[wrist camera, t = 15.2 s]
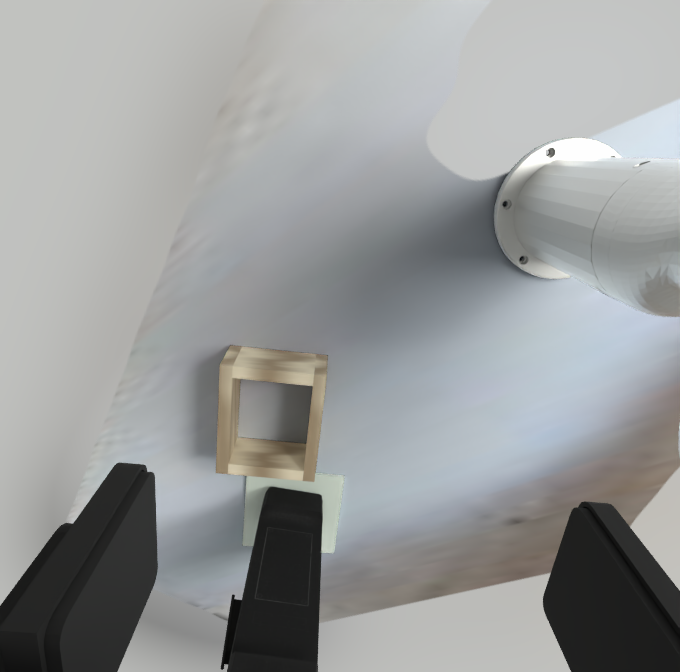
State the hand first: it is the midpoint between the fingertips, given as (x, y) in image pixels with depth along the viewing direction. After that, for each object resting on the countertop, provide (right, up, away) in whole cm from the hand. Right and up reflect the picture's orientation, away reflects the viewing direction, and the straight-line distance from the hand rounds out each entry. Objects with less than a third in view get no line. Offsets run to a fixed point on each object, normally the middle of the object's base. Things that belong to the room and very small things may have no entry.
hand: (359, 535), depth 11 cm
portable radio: (-7, -16, +46) cm, 49 cm away
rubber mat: (-6, -16, +47) cm, 50 cm away
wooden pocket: (-7, -3, +42) cm, 42 cm away
